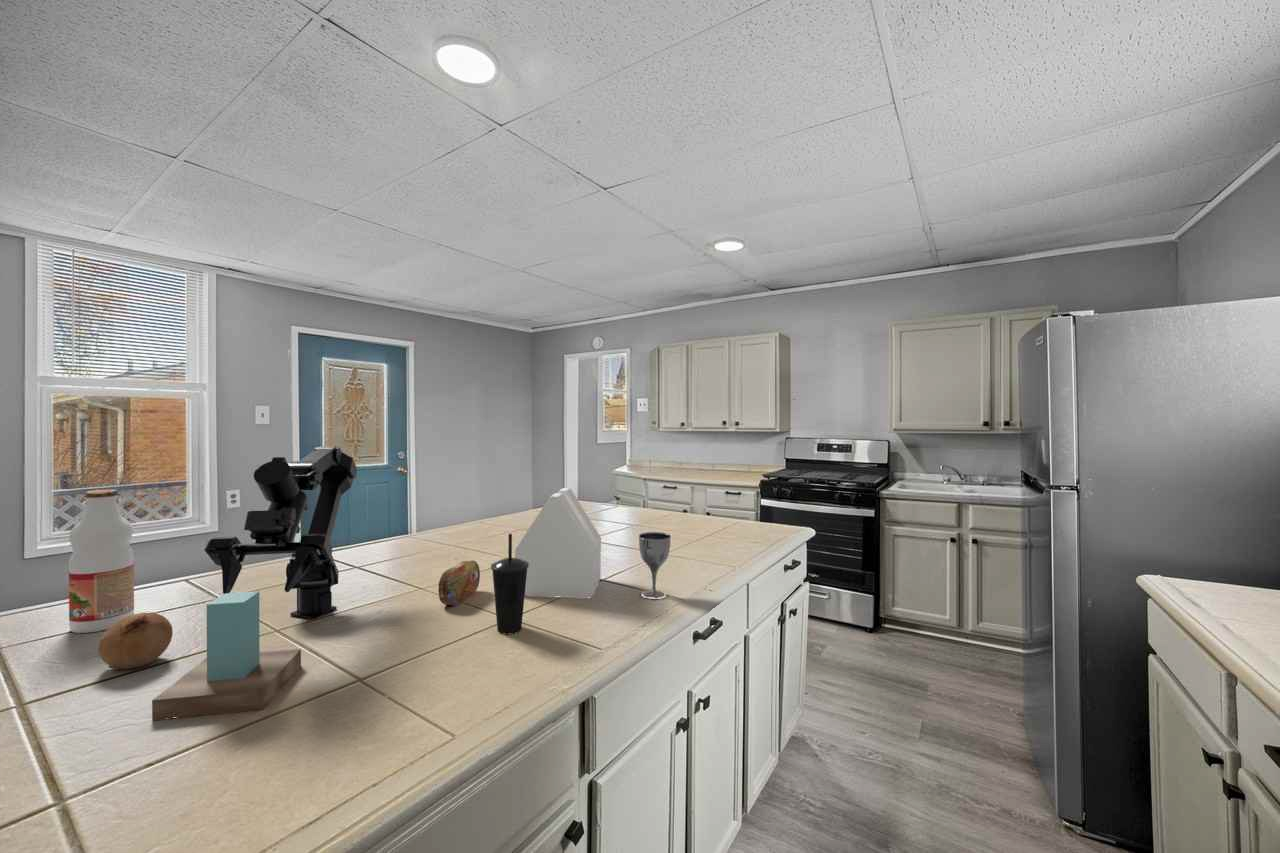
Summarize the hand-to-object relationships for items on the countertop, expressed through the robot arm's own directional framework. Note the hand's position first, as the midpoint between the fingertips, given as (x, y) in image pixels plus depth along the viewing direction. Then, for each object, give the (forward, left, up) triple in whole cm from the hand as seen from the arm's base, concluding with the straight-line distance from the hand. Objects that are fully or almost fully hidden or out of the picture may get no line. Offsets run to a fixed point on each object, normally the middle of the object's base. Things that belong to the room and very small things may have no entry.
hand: (256, 592), depth 89 cm
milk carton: (+30, +57, -14) cm, 66 cm away
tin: (+11, +41, -14) cm, 45 cm away
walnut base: (+3, -6, -13) cm, 15 cm away
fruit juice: (-49, +4, -14) cm, 51 cm away
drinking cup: (+32, +29, -14) cm, 45 cm away
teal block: (+3, -6, -10) cm, 12 cm away
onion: (-22, -5, -14) cm, 26 cm away
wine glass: (+55, +59, -14) cm, 82 cm away
